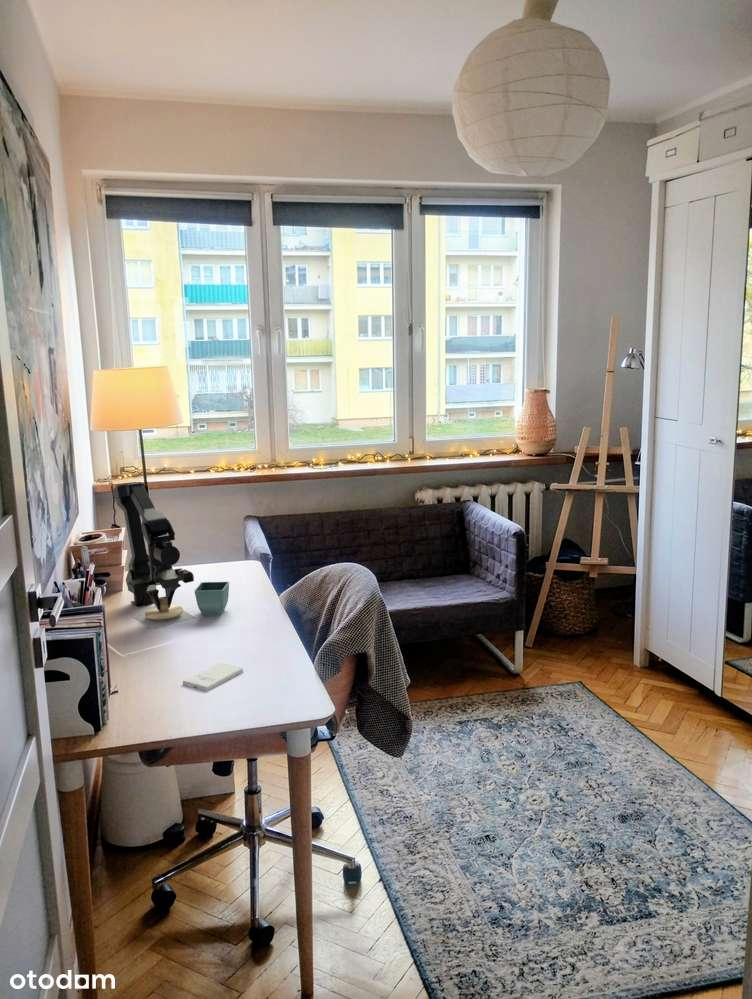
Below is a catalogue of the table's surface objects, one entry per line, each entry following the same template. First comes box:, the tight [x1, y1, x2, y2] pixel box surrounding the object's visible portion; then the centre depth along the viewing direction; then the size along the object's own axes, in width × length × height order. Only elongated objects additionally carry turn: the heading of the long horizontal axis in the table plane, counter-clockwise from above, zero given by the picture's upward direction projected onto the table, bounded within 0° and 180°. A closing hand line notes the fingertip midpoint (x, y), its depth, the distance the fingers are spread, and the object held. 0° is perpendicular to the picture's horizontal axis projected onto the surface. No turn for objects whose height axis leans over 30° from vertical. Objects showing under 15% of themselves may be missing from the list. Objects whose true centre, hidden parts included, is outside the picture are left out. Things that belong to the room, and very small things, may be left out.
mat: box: [133, 609, 197, 630], centre depth 235 cm, size 14×14×1 cm
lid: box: [144, 596, 184, 620], centre depth 234 cm, size 11×11×5 cm
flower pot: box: [194, 581, 230, 617], centre depth 236 cm, size 9×9×9 cm
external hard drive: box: [182, 662, 244, 692], centre depth 190 cm, size 2×8×12 cm
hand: (163, 608), depth 234 cm, fingers closed on lid, 3 cm apart
